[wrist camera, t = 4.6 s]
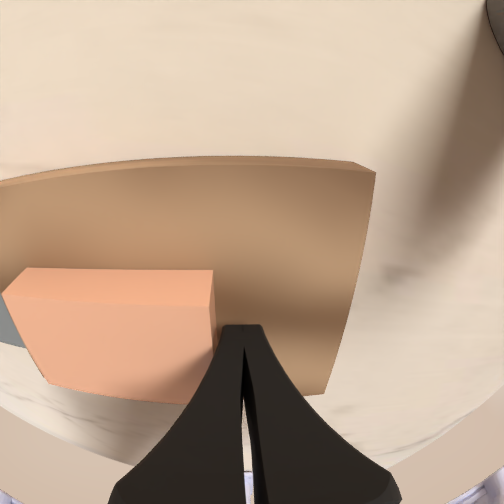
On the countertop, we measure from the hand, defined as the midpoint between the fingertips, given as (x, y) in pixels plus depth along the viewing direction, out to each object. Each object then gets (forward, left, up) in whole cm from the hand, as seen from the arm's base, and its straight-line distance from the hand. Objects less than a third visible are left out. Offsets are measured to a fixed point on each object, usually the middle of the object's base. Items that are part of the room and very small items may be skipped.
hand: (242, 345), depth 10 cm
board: (0, +4, -3) cm, 5 cm away
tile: (0, +5, -1) cm, 5 cm away
